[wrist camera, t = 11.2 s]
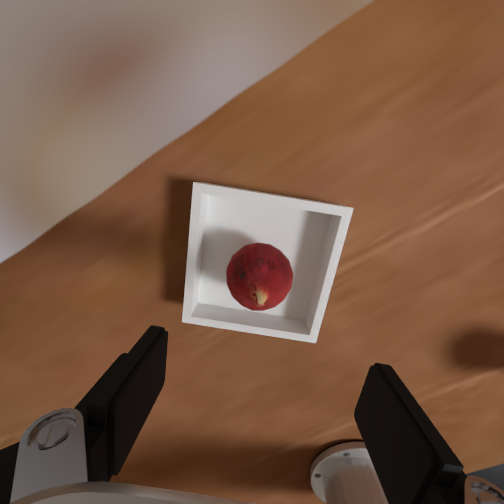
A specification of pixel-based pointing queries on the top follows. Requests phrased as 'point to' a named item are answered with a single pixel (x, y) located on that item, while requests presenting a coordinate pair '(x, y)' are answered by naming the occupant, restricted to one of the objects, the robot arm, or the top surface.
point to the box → (269, 232)
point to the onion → (259, 276)
